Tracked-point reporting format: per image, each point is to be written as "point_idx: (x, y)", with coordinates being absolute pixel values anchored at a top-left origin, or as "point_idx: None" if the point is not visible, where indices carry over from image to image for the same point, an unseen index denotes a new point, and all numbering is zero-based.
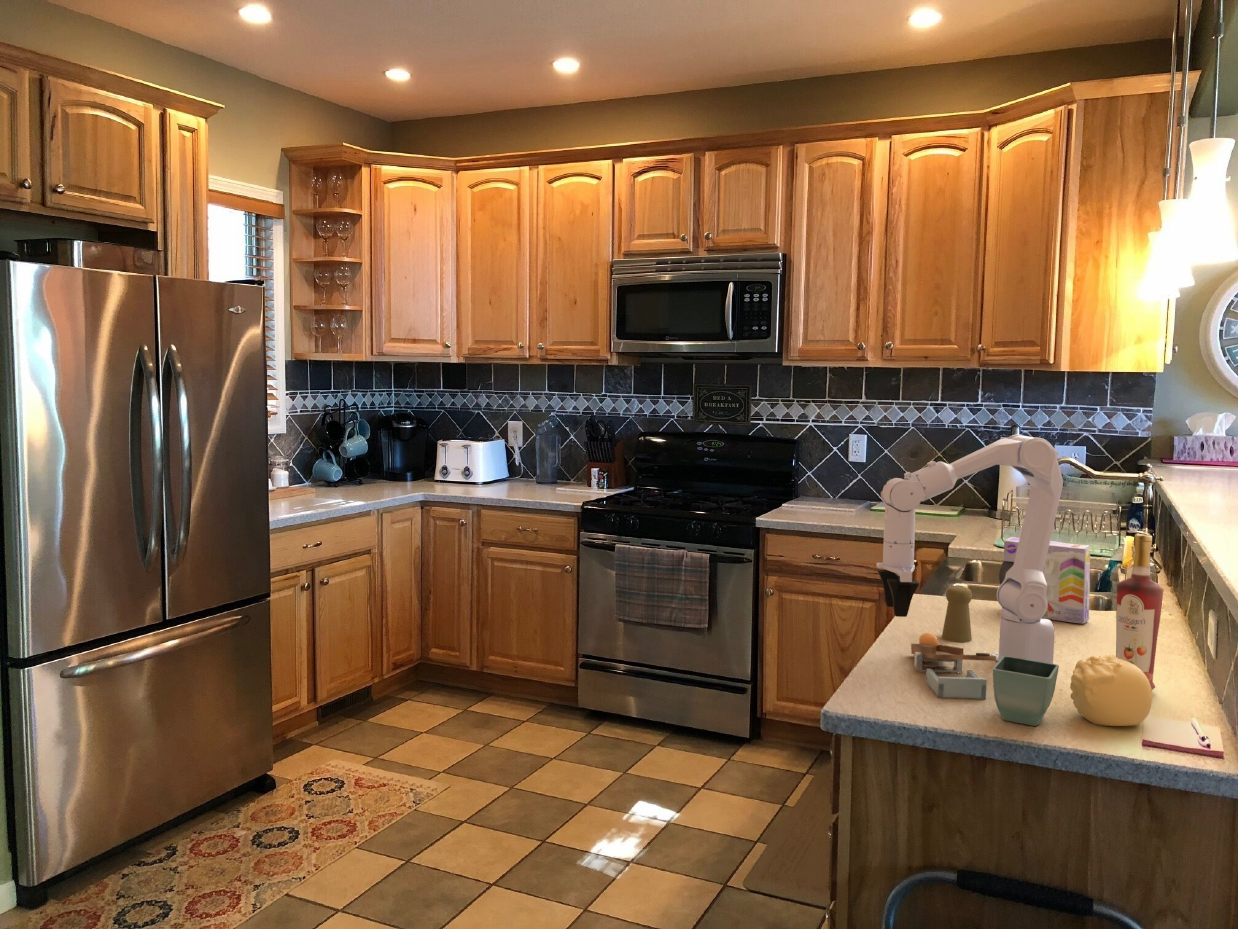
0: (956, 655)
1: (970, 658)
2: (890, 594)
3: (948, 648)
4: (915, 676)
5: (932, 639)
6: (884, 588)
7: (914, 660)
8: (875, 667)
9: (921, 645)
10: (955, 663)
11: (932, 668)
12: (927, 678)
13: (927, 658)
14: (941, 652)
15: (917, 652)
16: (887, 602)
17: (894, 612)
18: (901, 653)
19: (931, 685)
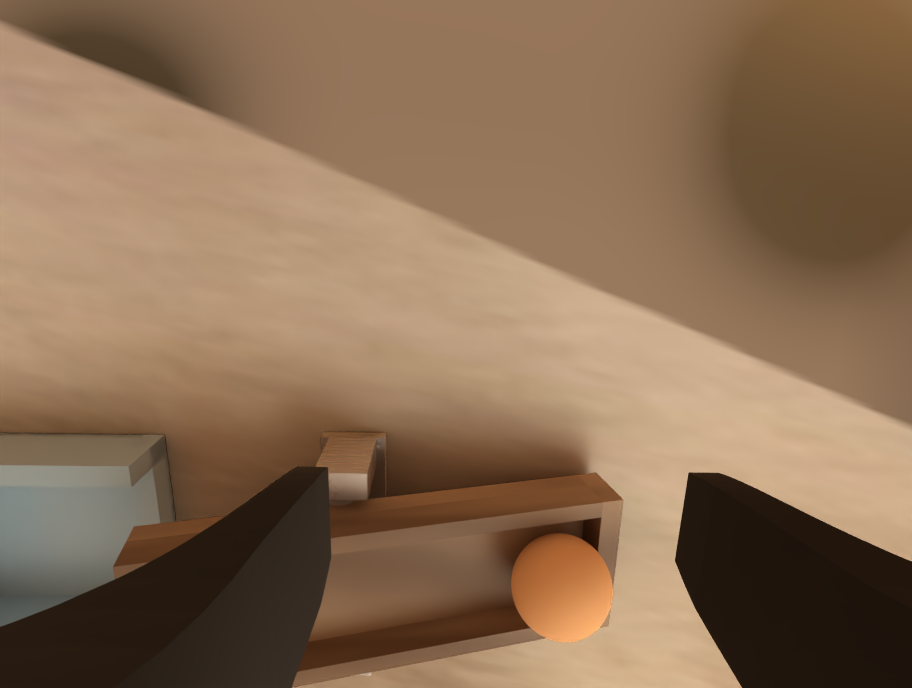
0: None
1: None
2: (760, 580)
3: (380, 647)
4: (250, 409)
5: (523, 612)
6: (829, 563)
7: (371, 450)
8: (374, 243)
9: (397, 529)
10: None
11: None
12: (127, 445)
13: None
14: (395, 600)
15: (356, 484)
16: (711, 495)
17: (300, 475)
18: (634, 432)
19: (52, 440)
